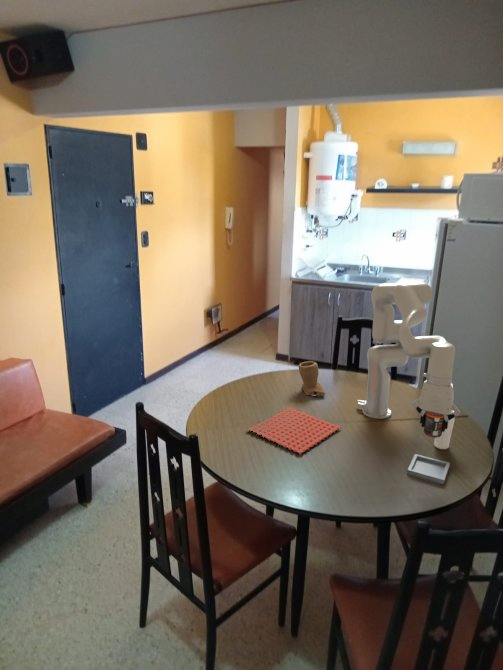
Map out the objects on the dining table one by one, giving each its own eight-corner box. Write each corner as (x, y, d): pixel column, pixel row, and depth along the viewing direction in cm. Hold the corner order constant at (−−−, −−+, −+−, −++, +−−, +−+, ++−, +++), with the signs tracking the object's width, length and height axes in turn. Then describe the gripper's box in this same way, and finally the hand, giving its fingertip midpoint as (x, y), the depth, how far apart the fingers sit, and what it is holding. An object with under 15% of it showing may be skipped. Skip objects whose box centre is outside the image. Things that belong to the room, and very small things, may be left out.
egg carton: (341, 430, 193) (341, 426, 192) (300, 458, 173) (300, 453, 173) (288, 410, 211) (288, 406, 211) (246, 433, 192) (246, 428, 191)
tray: (407, 474, 161) (407, 469, 161) (414, 458, 171) (415, 453, 171) (443, 485, 155) (444, 480, 155) (449, 467, 165) (449, 462, 165)
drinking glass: (442, 452, 175) (446, 416, 171) (428, 444, 181) (432, 409, 176) (454, 448, 178) (459, 412, 174) (440, 440, 184) (444, 405, 179)
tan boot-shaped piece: (296, 386, 237) (297, 358, 233) (319, 385, 238) (320, 357, 233) (301, 398, 223) (302, 369, 218) (325, 397, 223) (326, 368, 219)
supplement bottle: (439, 440, 155) (443, 409, 152) (421, 435, 158) (424, 405, 155) (443, 432, 160) (447, 402, 157) (425, 428, 163) (428, 399, 160)
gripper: (409, 377, 154) (405, 426, 160) (465, 388, 146) (458, 439, 151) (414, 370, 161) (409, 417, 166) (468, 380, 152) (462, 429, 157)
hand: (433, 427), depth 158 cm, fingers closed on supplement bottle, 6 cm apart
